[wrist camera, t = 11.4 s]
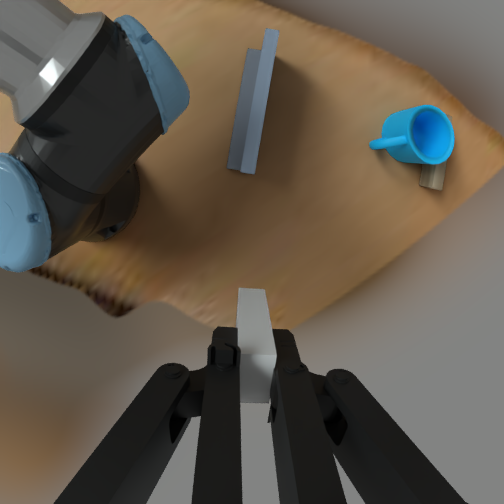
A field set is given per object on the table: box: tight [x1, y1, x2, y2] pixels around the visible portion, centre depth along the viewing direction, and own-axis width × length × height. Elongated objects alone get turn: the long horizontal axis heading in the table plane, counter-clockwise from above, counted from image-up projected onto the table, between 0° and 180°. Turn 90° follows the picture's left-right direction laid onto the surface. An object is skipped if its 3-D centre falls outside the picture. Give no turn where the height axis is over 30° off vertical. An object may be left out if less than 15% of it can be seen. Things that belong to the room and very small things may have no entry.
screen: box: [227, 28, 279, 174], centre depth 36 cm, size 4×18×9 cm, turn 171°
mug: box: [369, 105, 455, 164], centre depth 38 cm, size 12×8×8 cm
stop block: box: [419, 114, 452, 191], centre depth 40 cm, size 2×12×4 cm, turn 171°
